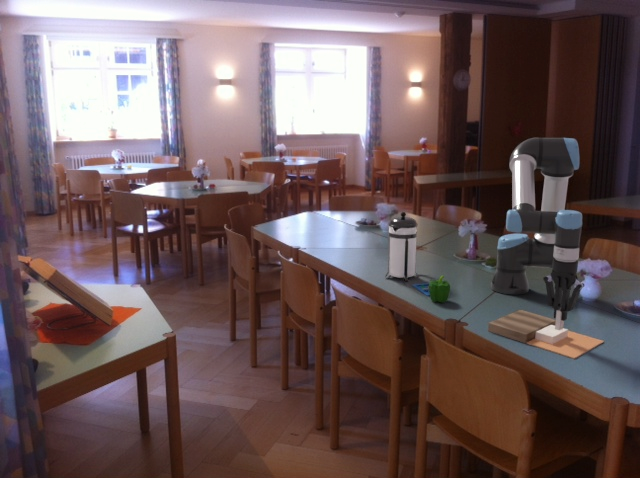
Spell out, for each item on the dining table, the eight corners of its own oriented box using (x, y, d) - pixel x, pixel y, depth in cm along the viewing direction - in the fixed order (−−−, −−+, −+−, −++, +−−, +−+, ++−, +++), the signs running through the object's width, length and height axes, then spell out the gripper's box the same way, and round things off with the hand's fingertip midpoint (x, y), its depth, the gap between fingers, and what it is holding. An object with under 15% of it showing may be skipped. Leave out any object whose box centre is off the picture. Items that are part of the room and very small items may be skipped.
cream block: (550, 331, 203) (551, 324, 202) (567, 336, 198) (568, 329, 198) (535, 338, 197) (535, 331, 196) (552, 344, 192) (552, 337, 192)
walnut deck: (519, 317, 217) (520, 309, 217) (556, 328, 207) (556, 320, 206) (488, 331, 205) (488, 322, 204) (525, 343, 194) (525, 334, 194)
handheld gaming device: (427, 294, 241) (412, 283, 255) (427, 297, 242) (412, 286, 256) (446, 292, 244) (429, 282, 258) (445, 295, 244) (429, 284, 258)
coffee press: (424, 282, 260) (426, 214, 254) (388, 283, 259) (389, 215, 252) (415, 271, 277) (417, 207, 271) (381, 272, 276) (382, 208, 269)
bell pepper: (438, 305, 230) (440, 281, 228) (424, 300, 237) (425, 275, 235) (454, 302, 234) (456, 277, 232) (440, 296, 241) (441, 272, 239)
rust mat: (557, 328, 207) (557, 327, 206) (603, 342, 195) (603, 341, 195) (526, 343, 194) (526, 342, 194) (574, 359, 182) (574, 357, 182)
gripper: (540, 257, 192) (534, 326, 198) (579, 265, 183) (572, 337, 188) (552, 253, 197) (546, 320, 202) (591, 261, 188) (584, 331, 193)
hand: (559, 328), depth 195 cm, fingers closed
